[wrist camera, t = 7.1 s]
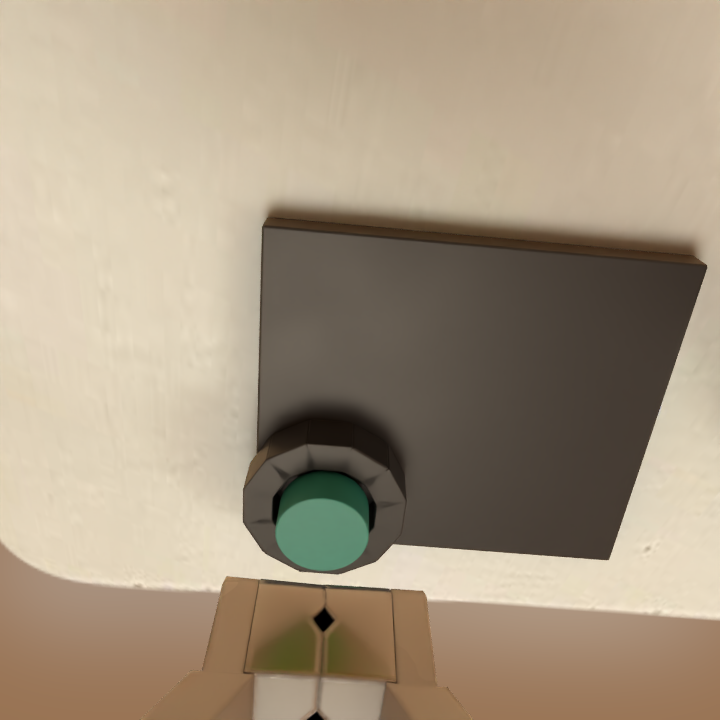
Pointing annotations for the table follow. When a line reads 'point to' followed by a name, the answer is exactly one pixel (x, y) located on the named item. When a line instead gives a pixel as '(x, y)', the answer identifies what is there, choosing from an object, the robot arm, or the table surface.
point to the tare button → (323, 521)
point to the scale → (462, 382)
